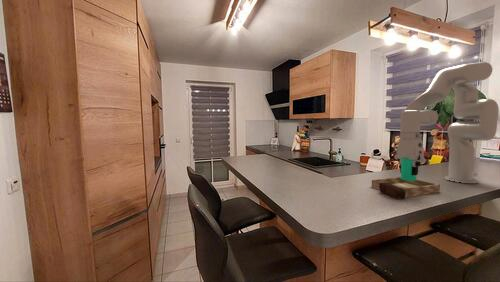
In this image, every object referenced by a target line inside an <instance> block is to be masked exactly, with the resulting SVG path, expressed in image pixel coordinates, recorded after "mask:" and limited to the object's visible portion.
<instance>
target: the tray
mask: <svg viewBox="0 0 500 282" xmlns="http://www.w3.org/2000/svg"><path fill="white" fill-rule="evenodd" d="M385 182H386V183H390V184H392V185H395V186H398V187H400V188H403V191H404V192H405V198H407V197H409V198H410V197H415V196H421V195H427V194H435V193H439V192H440V189H441V187H440V186H441V184H439V183H434V182H430V181H425V180H421V179H417V178H416V181H408V180H403V179H401V176H396V177H387V178H386V177H385V178H379V179H378V178H377V179H371V187H372V188H375V189H377V190H379V184H380V183H385Z"/></svg>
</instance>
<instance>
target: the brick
mask: <svg viewBox="0 0 500 282" xmlns="http://www.w3.org/2000/svg"><path fill="white" fill-rule="evenodd" d="M378 190H379V192H380V193H381V194H383V195H385V196H388V197H390V198H392V199H394V200H405V198H406V197H405V192H404V191H403V188H400V187H398V186H395V185H392V184H390V183H386V182H385V183H380V184H379V189H378Z"/></svg>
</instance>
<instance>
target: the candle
mask: <svg viewBox="0 0 500 282" xmlns="http://www.w3.org/2000/svg"><path fill="white" fill-rule="evenodd" d="M415 163H416V161H415ZM412 167H413V165H412V160H411V159H404V158H401V173H400V177H401V179H403V180H408V181H416V179H417V175H412Z"/></svg>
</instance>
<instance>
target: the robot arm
mask: <svg viewBox="0 0 500 282" xmlns="http://www.w3.org/2000/svg"><path fill="white" fill-rule="evenodd" d="M492 73H493V66H492V64H490V63H489V62H487V61H481V62H474V63H473V62H472V63H465V64H460V65H456V66H452V67H451V66H450V67H447V68H444V69H441V70H439V71H438V72H437V73H436V74H435V76H434V78H433V80H432V82H431V83H430V85H429V86H428V88H427V89H426V91H425V92H424V93H422V94H421V95H419V96H417V97H416V98H414V99H413V100H412V101H411V102H409V103H408V105H407V106H406V108H404V110H402V111H401V112H400V129H399V134H400V135H399V139H398V143H397V148H396V154H395V155H394V156H393V157H394V159H395V160H396V161H397V162H398V164H399V167H400V168H399V171H400V174H401V158H404V159H411V160H412V165H413V167H412V175H416V176H418V174H419V167H421V165H423V164H424V163H426V162H427V160H426V158H425V150H424V143H423V139H421V138H422V137H423V134H421V126H432V125H434V124H436V123H437V122H438V120H439V113H438V112H437V111H435V109H425V108H428V107H430V106H432V105H436V104H438V103H440V102H442V101H444V100H446V98H447V97H448V96H449V94H450V92H451V90H453V93H454V101H453V102H454V103H453V117H455V119H458V120H476V121H456V122H453V123H451V124H449V126H447V136H448V140H449V147H448V149H449V152H448V175H445V176H444V180H446V181H449V180H450V181H449V182H453V181H455V182H454V183H459V182H461V183H462V184H477V183H478V182H479V181H478V179H476V178H474V177H478V173H477V172H474V170H475V155H476V154H475V152H476V150H475V149H476V148H475V146H474V144H473V143H472V142H471V141H483V142H485V141H491V140H493V139H494V138H495V136H496V134H497V130H498V121H499V119H498V118H499V109H500V108H499V104H498V103H497V101H496V100H494V99H491V98H486V99H485V98H483V99H478V98H479V89H478V88H477V87H476V86H475V85H474V84H473V83H472V82H479V81H484V80H486V79H488V78H490V77H491V76H492ZM477 119H479V120H478V121H477ZM415 161H416V163H415ZM461 183H460V184H461Z"/></svg>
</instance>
